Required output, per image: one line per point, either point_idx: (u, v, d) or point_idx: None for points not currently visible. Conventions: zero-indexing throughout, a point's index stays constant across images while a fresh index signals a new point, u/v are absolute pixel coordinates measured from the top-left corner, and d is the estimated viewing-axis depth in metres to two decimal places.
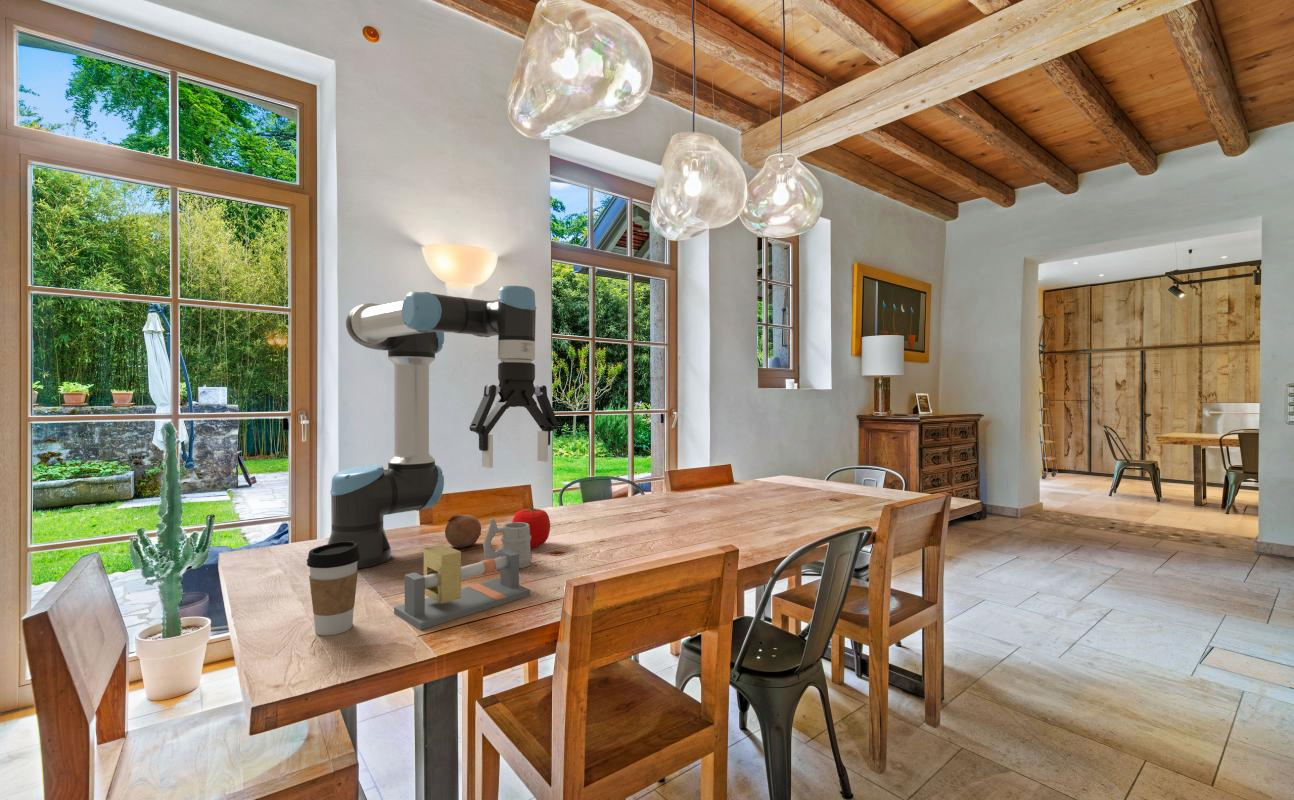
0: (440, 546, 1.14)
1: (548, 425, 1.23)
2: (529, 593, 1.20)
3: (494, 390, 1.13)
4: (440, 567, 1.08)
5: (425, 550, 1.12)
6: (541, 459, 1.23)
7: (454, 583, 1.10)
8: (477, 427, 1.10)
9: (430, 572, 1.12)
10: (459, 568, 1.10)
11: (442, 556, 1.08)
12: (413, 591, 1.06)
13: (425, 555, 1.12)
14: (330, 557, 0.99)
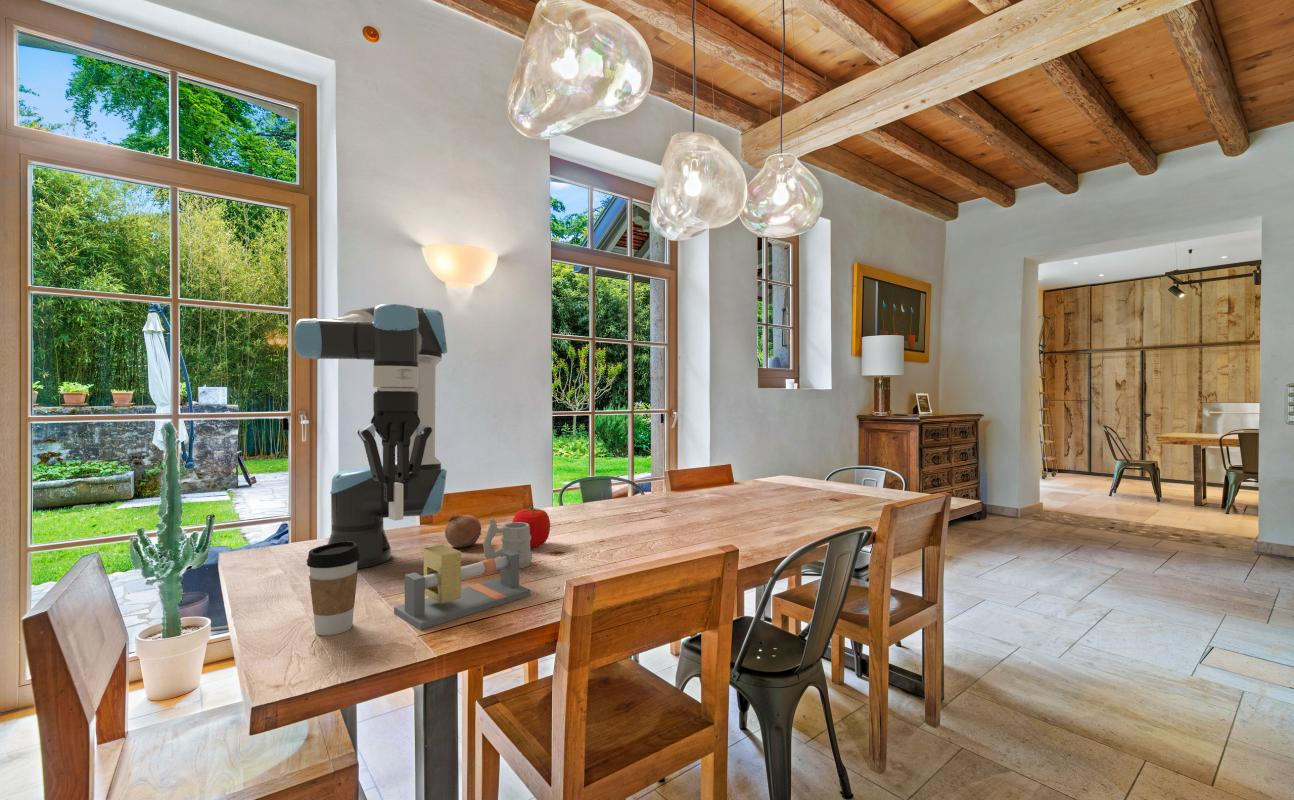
0: (440, 546, 1.14)
1: (406, 475, 1.04)
2: (529, 593, 1.20)
3: (369, 434, 0.99)
4: (440, 567, 1.08)
5: (425, 550, 1.12)
6: None
7: (454, 583, 1.10)
8: (379, 478, 1.01)
9: (430, 572, 1.12)
10: (459, 568, 1.10)
11: (442, 556, 1.08)
12: (413, 591, 1.06)
13: (425, 555, 1.12)
14: (330, 557, 0.99)
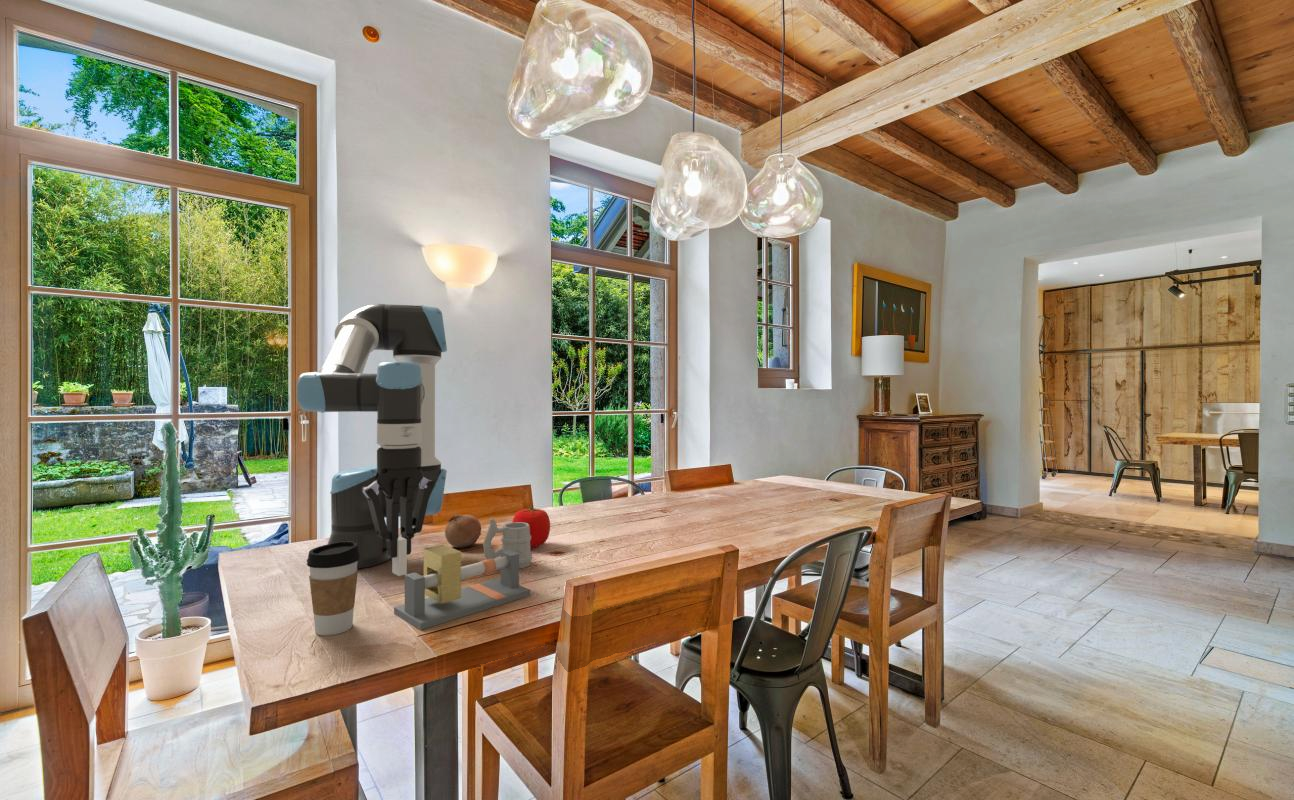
0: (440, 546, 1.14)
1: (409, 531, 1.05)
2: (529, 593, 1.20)
3: (372, 493, 1.00)
4: (440, 567, 1.08)
5: (425, 550, 1.12)
6: None
7: (454, 583, 1.10)
8: (383, 535, 1.02)
9: (430, 572, 1.12)
10: (459, 568, 1.10)
11: (442, 556, 1.08)
12: (413, 591, 1.06)
13: (425, 555, 1.12)
14: (330, 557, 0.99)
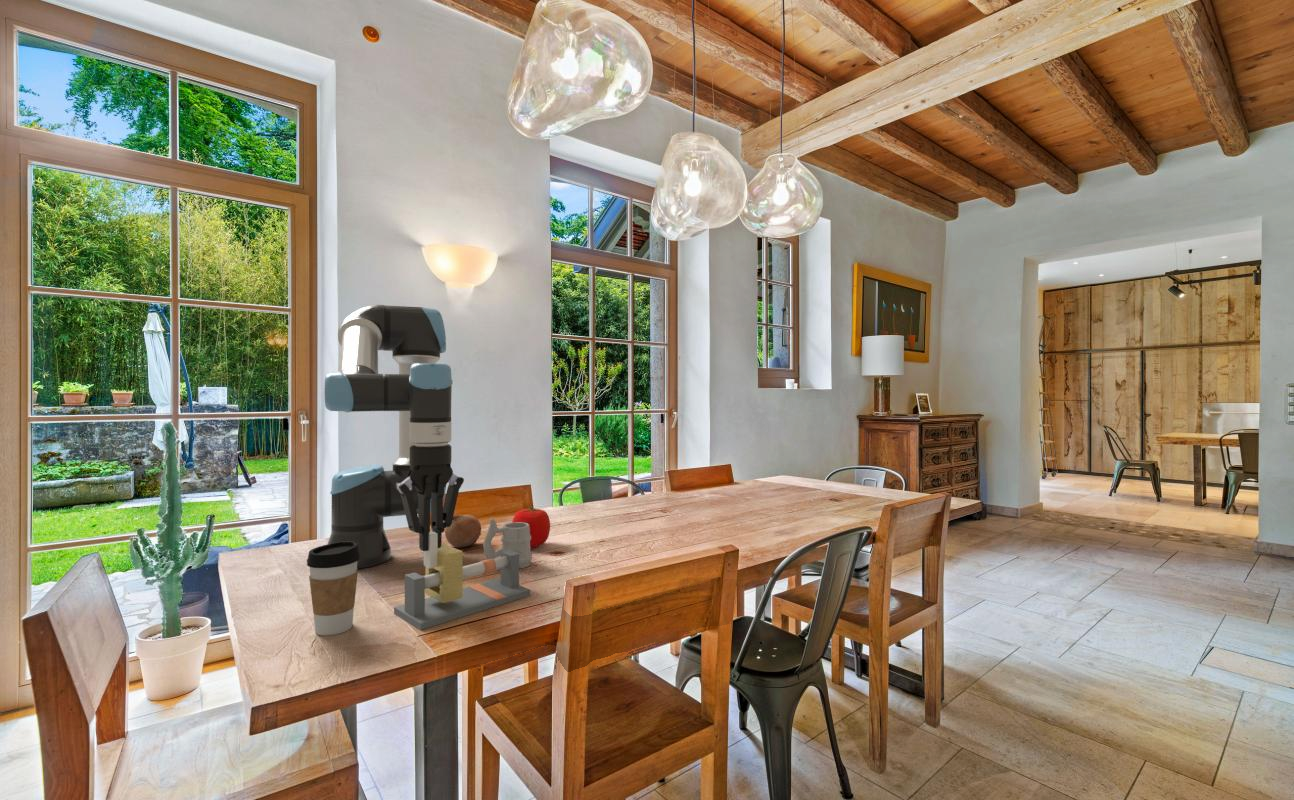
0: (442, 546, 1.14)
1: (440, 525, 1.10)
2: (529, 593, 1.20)
3: (406, 488, 1.05)
4: (442, 567, 1.08)
5: None
6: None
7: (456, 582, 1.10)
8: (415, 529, 1.06)
9: (432, 572, 1.12)
10: (461, 568, 1.10)
11: (444, 556, 1.08)
12: (413, 591, 1.06)
13: None
14: (330, 557, 0.99)
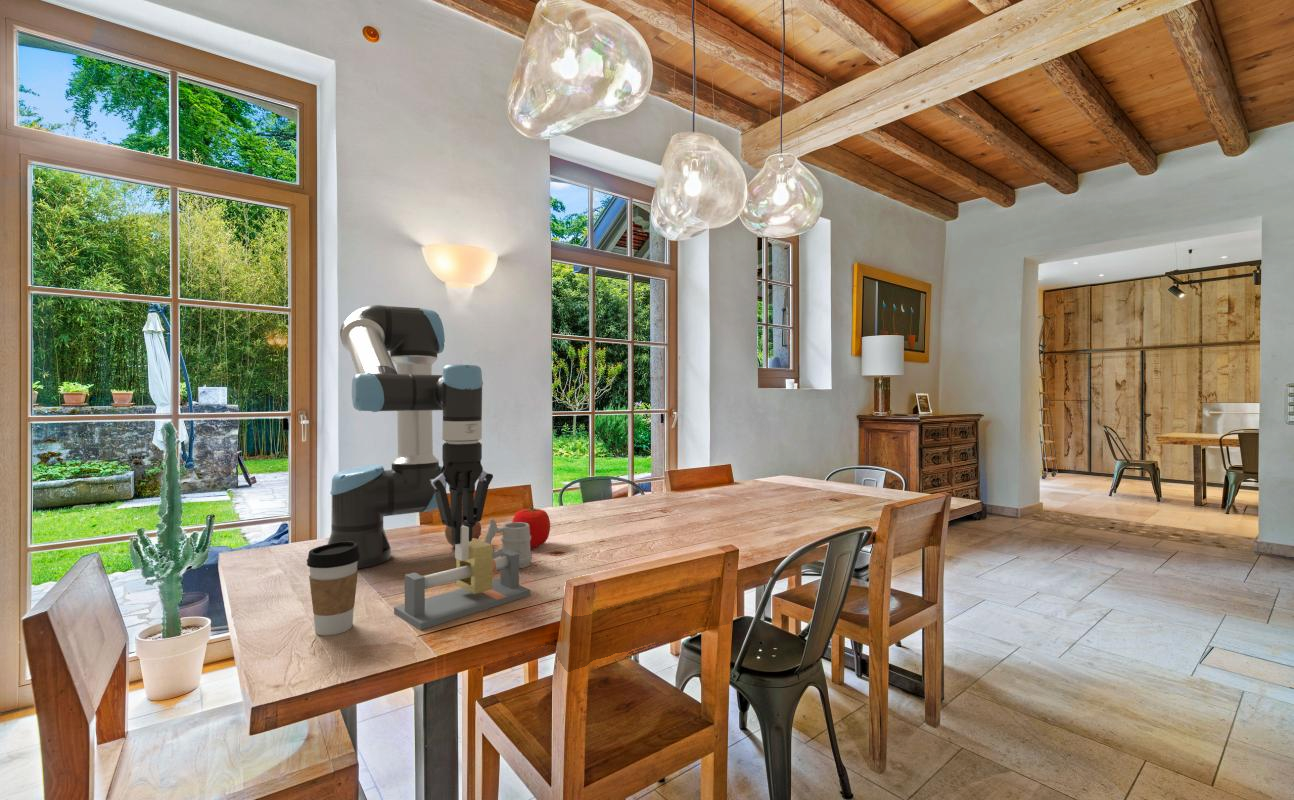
0: None
1: (471, 519, 1.15)
2: (529, 593, 1.20)
3: (440, 484, 1.10)
4: (473, 559, 1.13)
5: None
6: None
7: (486, 574, 1.15)
8: (448, 523, 1.11)
9: (462, 564, 1.17)
10: (491, 560, 1.15)
11: (475, 549, 1.13)
12: (413, 591, 1.06)
13: None
14: (330, 557, 0.99)
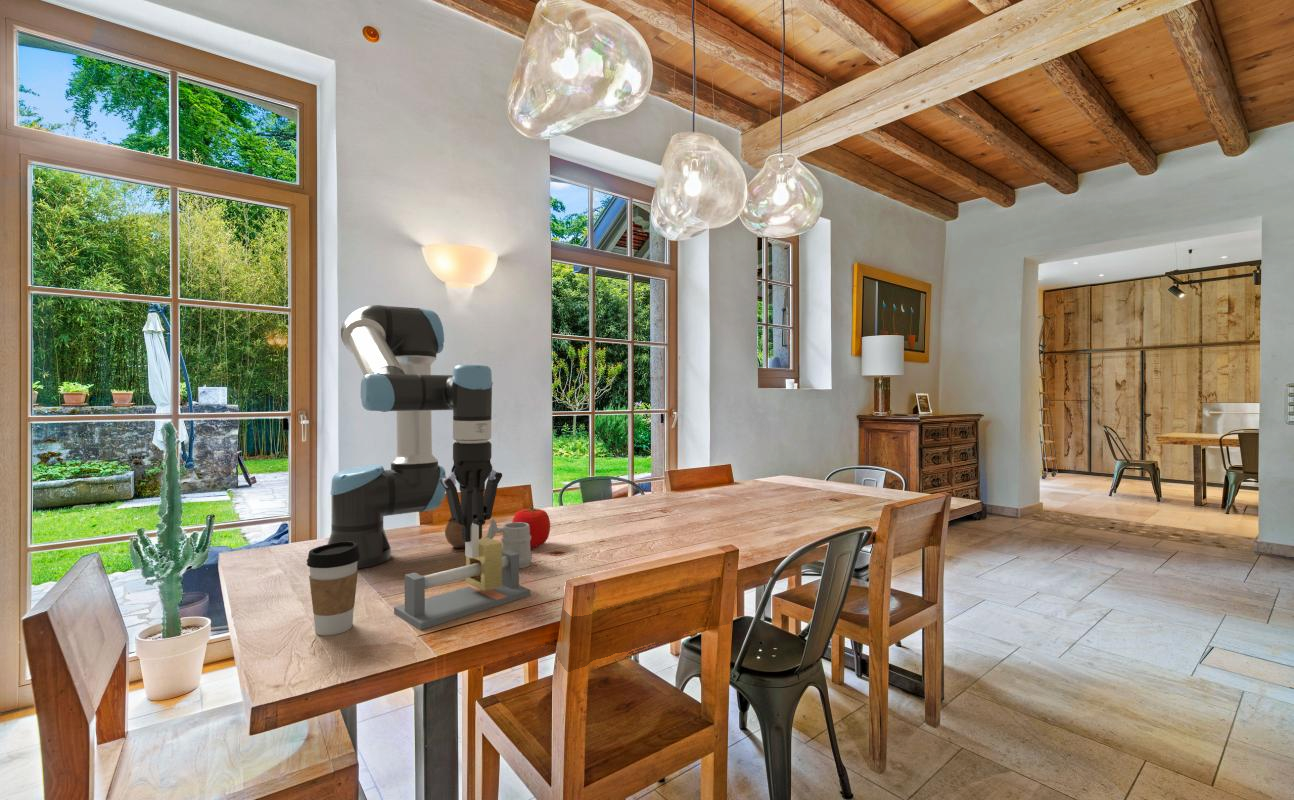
0: None
1: (481, 517, 1.16)
2: (529, 593, 1.20)
3: (451, 483, 1.11)
4: (483, 557, 1.15)
5: None
6: None
7: (496, 572, 1.16)
8: (459, 521, 1.13)
9: (472, 562, 1.19)
10: (500, 558, 1.17)
11: (485, 546, 1.14)
12: (413, 591, 1.06)
13: None
14: (330, 557, 0.99)
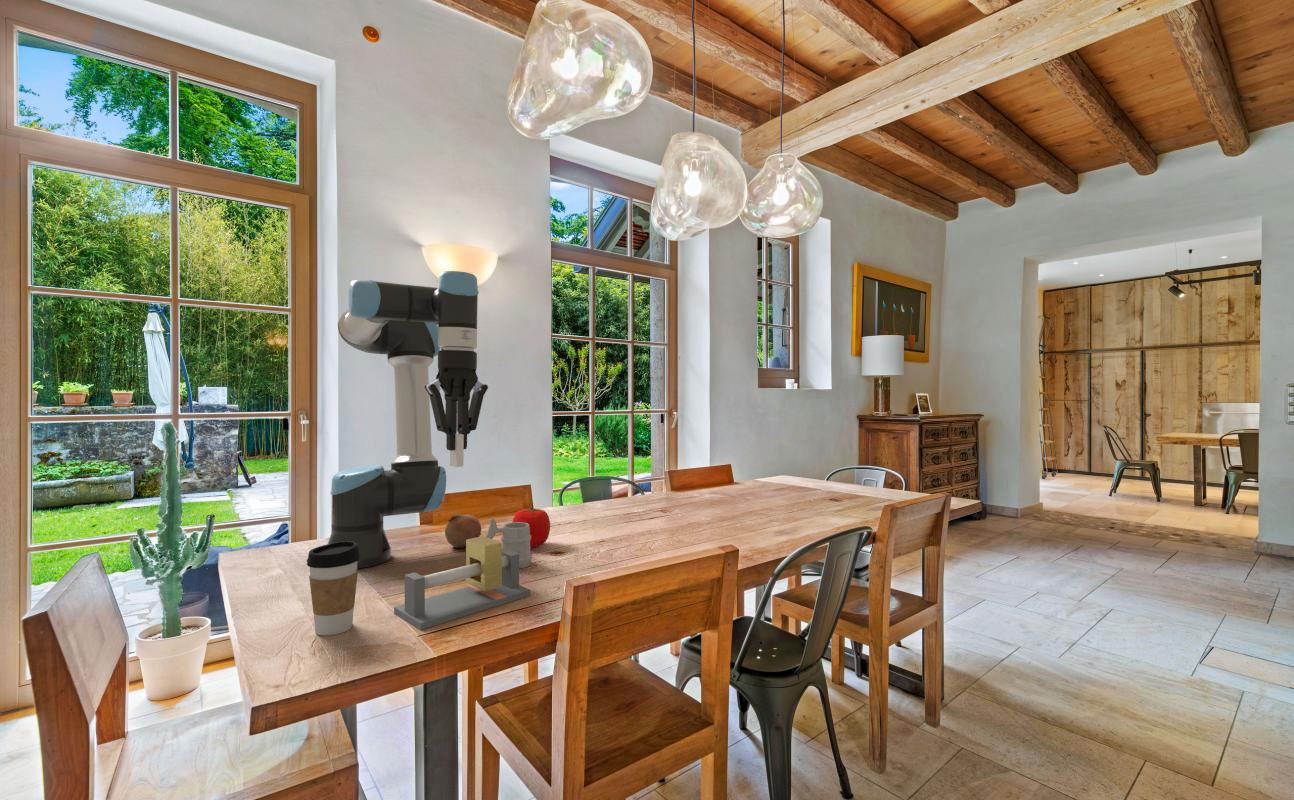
0: (481, 537, 1.21)
1: (466, 427, 1.16)
2: (529, 593, 1.20)
3: (435, 388, 1.11)
4: (483, 557, 1.15)
5: (468, 541, 1.19)
6: None
7: (496, 572, 1.16)
8: (443, 428, 1.12)
9: (472, 562, 1.19)
10: (500, 558, 1.17)
11: (485, 546, 1.14)
12: (413, 591, 1.06)
13: (468, 546, 1.19)
14: (330, 557, 0.99)
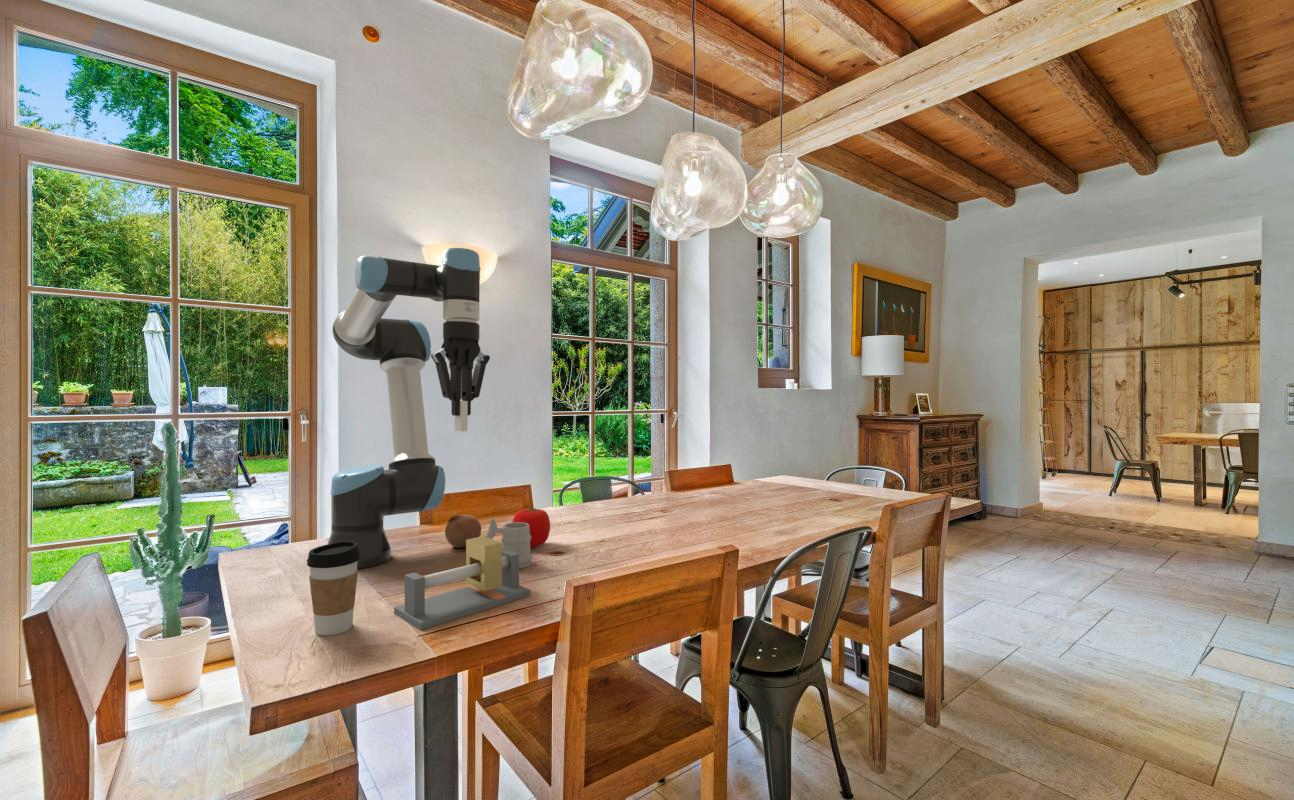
0: (481, 537, 1.21)
1: (470, 394, 1.24)
2: (529, 593, 1.20)
3: (441, 356, 1.19)
4: (483, 557, 1.15)
5: (468, 541, 1.19)
6: None
7: (496, 572, 1.16)
8: (449, 394, 1.20)
9: (472, 562, 1.19)
10: (500, 558, 1.17)
11: (485, 546, 1.14)
12: (413, 591, 1.06)
13: (468, 546, 1.19)
14: (330, 557, 0.99)
